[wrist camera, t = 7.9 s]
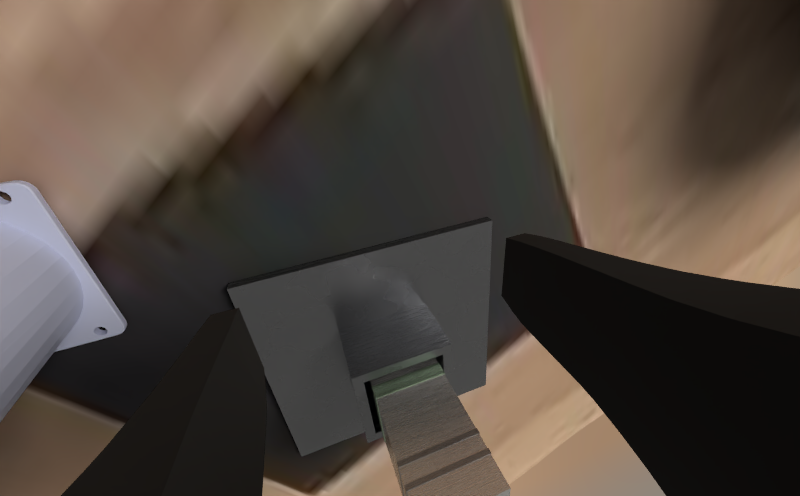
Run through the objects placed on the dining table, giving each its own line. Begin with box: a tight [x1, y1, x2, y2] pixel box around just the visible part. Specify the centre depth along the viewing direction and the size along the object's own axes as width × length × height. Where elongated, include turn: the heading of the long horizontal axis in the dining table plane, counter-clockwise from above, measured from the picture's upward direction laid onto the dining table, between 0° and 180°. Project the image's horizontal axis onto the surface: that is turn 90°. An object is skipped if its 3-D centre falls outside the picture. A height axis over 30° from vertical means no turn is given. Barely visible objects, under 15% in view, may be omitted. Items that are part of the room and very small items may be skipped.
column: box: [370, 358, 510, 496], centre depth 18 cm, size 4×4×8 cm
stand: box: [227, 217, 492, 456], centre depth 22 cm, size 16×16×5 cm
